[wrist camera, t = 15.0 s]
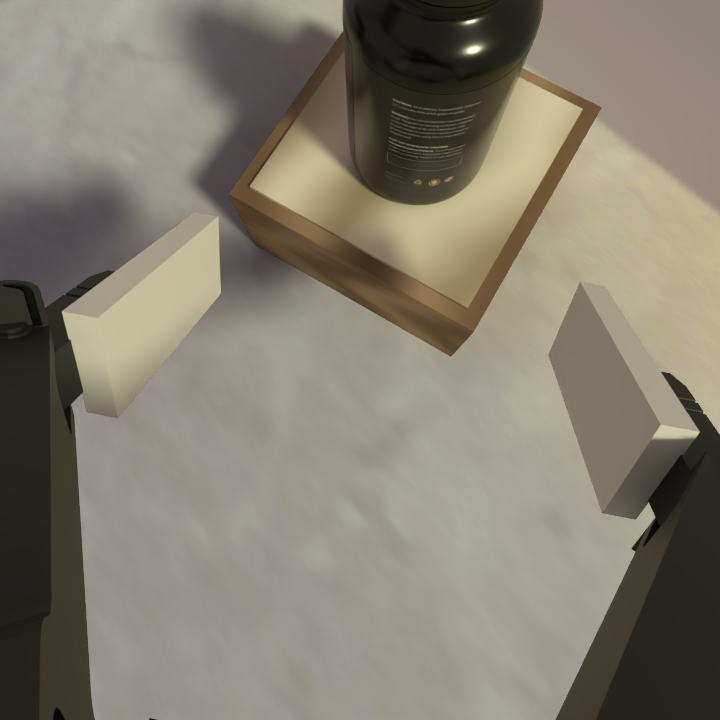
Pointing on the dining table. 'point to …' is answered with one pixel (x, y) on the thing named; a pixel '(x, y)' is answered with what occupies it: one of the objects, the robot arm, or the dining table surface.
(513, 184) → the walnut riser block
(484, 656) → the dining table surface
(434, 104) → the supplement bottle
